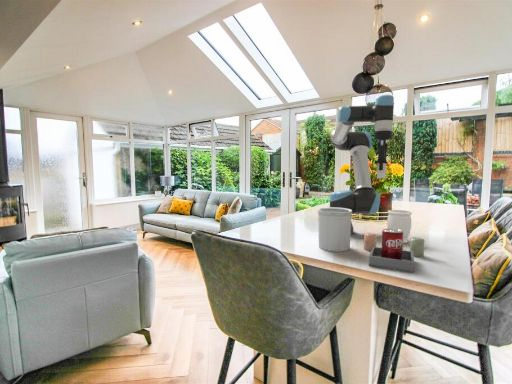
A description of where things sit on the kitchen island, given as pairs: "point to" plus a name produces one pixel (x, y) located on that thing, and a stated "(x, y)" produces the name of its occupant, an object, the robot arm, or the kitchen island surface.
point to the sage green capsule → (417, 247)
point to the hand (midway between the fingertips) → (381, 177)
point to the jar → (400, 222)
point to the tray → (392, 260)
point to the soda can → (392, 244)
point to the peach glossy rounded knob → (369, 241)
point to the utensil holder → (334, 228)
